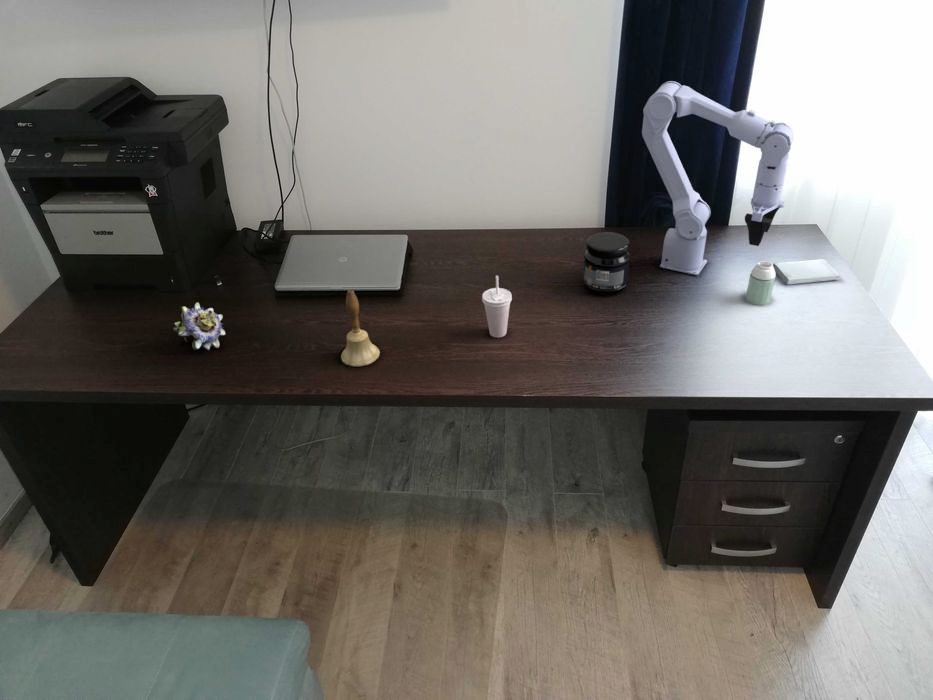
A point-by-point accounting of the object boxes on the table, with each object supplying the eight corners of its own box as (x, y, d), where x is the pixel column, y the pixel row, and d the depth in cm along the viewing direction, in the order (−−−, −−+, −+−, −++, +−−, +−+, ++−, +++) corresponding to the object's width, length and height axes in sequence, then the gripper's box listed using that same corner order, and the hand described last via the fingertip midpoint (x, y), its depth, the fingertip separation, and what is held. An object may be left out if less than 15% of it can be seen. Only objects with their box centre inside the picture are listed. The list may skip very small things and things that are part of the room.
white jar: (750, 279, 159) (774, 282, 157) (752, 268, 157) (777, 271, 155) (751, 269, 162) (775, 271, 161) (753, 257, 161) (777, 260, 159)
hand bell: (344, 344, 157) (332, 281, 148) (382, 343, 157) (372, 280, 147) (338, 367, 150) (325, 303, 141) (377, 366, 150) (366, 301, 141)
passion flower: (222, 366, 162) (204, 349, 151) (176, 356, 163) (155, 339, 151) (237, 320, 166) (221, 301, 154) (191, 311, 166) (172, 291, 155)
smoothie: (516, 327, 159) (515, 271, 151) (507, 343, 154) (506, 287, 146) (488, 323, 161) (486, 268, 153) (479, 338, 156) (476, 283, 148)
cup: (743, 301, 163) (747, 278, 159) (749, 290, 166) (753, 268, 163) (766, 307, 160) (772, 284, 157) (772, 296, 164) (777, 273, 160)
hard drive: (788, 279, 166) (840, 274, 167) (773, 262, 173) (823, 257, 173) (787, 285, 167) (838, 280, 168) (771, 268, 174) (821, 263, 174)
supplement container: (614, 271, 177) (617, 227, 170) (635, 291, 168) (640, 246, 162) (575, 280, 174) (577, 235, 167) (595, 301, 166) (597, 255, 159)
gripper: (780, 197, 151) (768, 254, 159) (796, 173, 160) (784, 228, 168) (746, 191, 154) (736, 248, 162) (763, 168, 164) (753, 222, 172)
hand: (758, 237), depth 165 cm, fingers open, 7 cm apart
